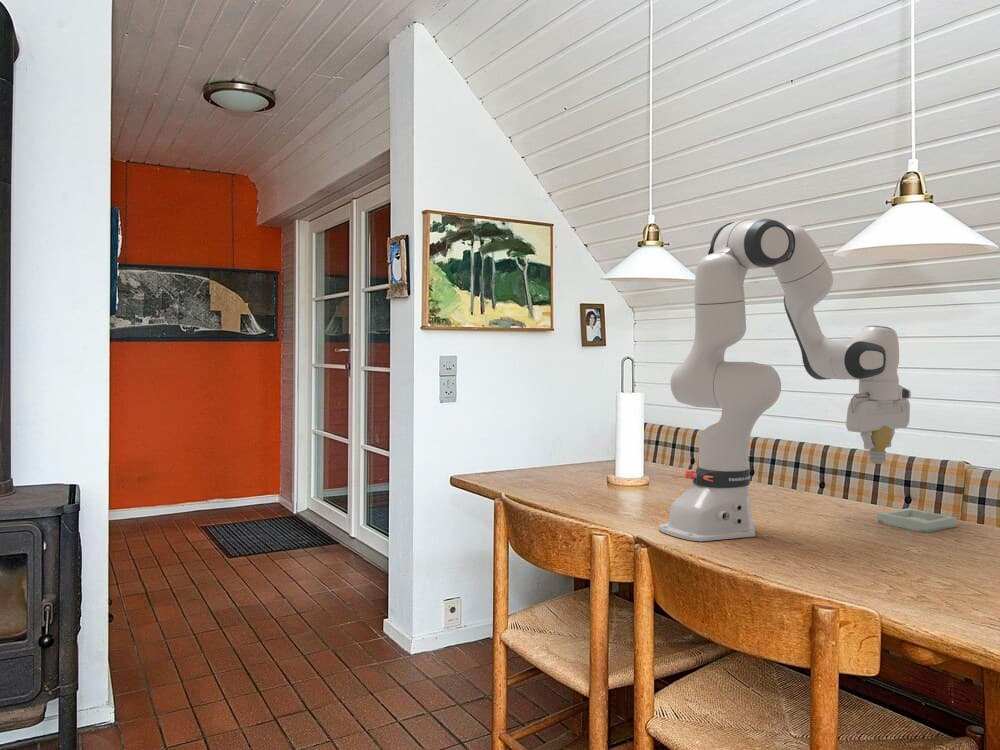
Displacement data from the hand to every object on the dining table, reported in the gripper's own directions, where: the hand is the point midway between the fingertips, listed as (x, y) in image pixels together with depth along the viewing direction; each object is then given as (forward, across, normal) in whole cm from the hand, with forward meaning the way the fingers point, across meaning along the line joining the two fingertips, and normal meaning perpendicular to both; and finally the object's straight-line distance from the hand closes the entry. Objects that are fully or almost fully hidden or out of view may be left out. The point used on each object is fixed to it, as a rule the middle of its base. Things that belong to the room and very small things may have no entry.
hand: (877, 448), depth 191 cm
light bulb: (+4, 0, 0) cm, 4 cm away
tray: (+17, +2, -9) cm, 20 cm away
